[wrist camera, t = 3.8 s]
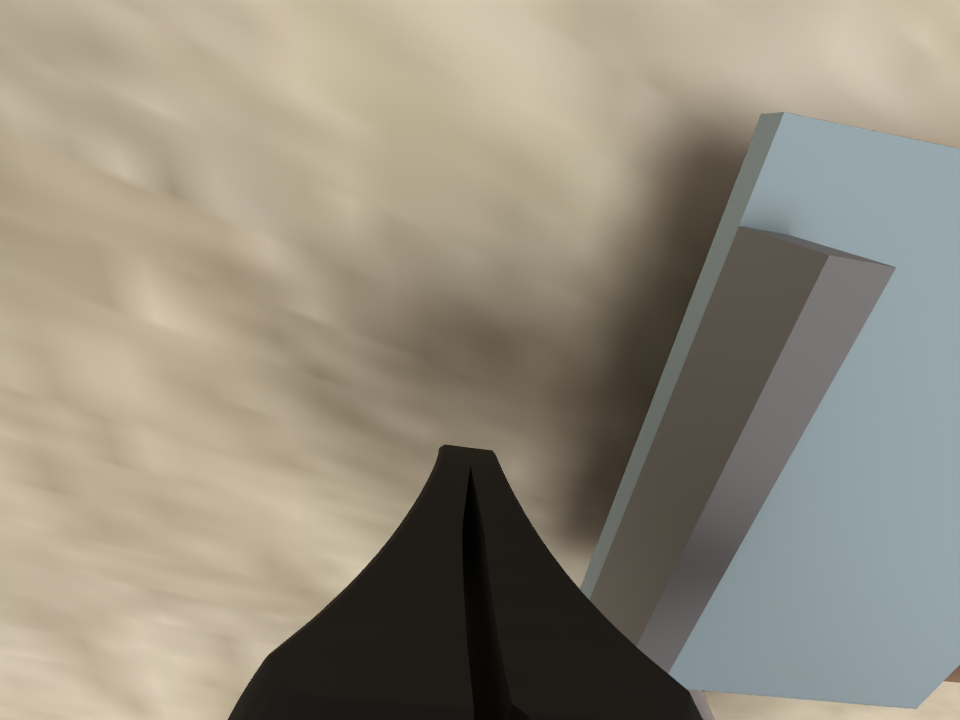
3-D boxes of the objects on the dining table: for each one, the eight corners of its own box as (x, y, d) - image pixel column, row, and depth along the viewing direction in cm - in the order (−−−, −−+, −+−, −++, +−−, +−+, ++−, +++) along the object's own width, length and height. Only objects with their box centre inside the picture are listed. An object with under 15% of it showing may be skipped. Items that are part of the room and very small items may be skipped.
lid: (898, 687, 19) (988, 801, 16) (554, 655, 18) (573, 772, 14) (1322, 230, 11) (1673, 268, 8) (761, 114, 10) (904, 101, 7)
